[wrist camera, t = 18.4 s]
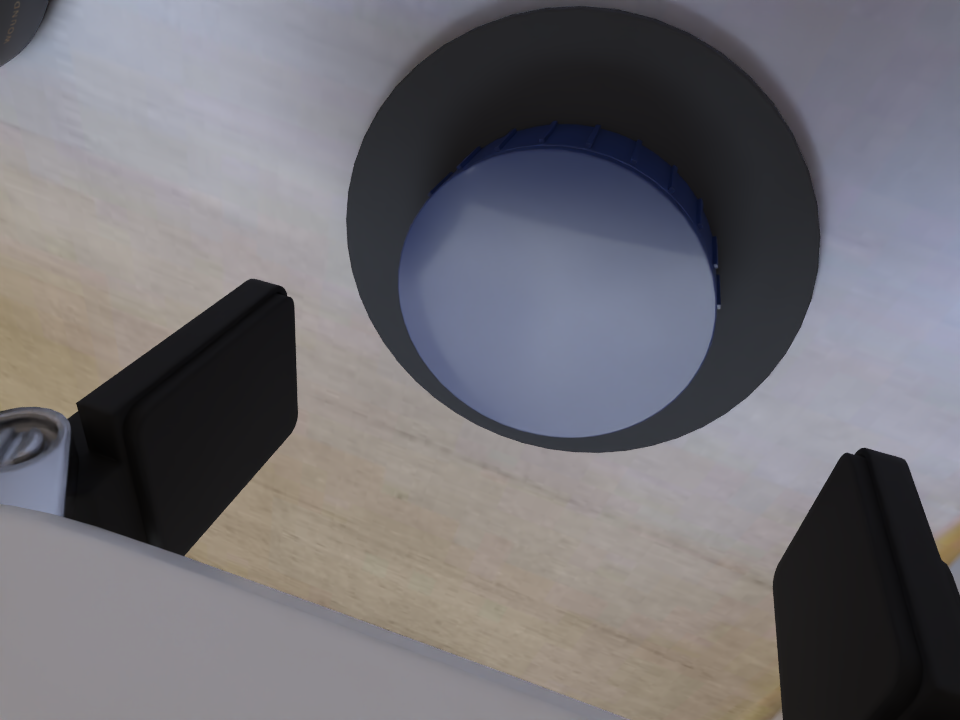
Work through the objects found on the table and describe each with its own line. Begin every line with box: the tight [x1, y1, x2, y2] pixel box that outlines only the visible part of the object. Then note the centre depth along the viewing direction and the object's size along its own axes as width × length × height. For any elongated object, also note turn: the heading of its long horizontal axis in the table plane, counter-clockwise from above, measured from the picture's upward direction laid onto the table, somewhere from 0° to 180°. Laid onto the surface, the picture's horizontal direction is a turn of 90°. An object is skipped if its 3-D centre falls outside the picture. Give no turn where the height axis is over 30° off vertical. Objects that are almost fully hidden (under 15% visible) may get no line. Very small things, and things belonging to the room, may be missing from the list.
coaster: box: [346, 6, 820, 453], centre depth 16 cm, size 11×11×1 cm
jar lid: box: [398, 121, 721, 438], centre depth 15 cm, size 7×7×2 cm
